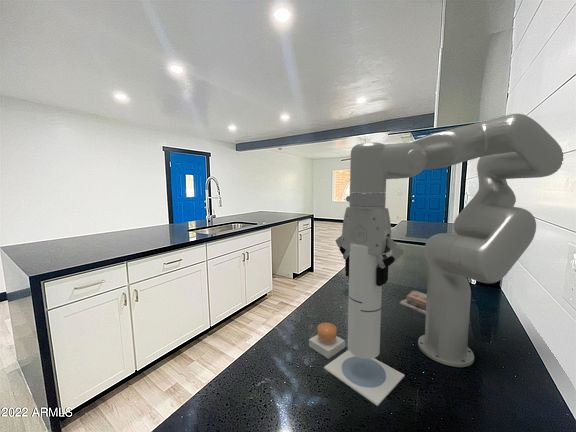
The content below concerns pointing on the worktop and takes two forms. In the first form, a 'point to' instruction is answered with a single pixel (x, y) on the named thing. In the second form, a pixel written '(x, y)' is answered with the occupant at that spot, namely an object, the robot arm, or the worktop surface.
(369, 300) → the cylindrical container
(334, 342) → the button housing
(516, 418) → the worktop surface
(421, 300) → the packaged product
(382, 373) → the white flat plate
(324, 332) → the button
